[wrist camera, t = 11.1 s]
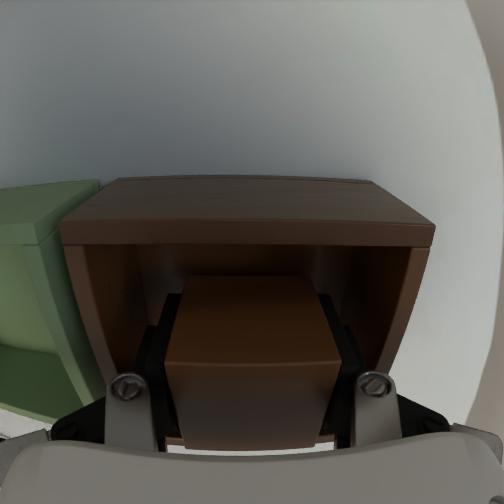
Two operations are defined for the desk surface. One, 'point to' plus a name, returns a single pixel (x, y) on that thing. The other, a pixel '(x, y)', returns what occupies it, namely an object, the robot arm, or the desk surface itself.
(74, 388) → the sage bin
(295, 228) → the walnut bin
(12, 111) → the desk surface
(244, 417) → the walnut block
